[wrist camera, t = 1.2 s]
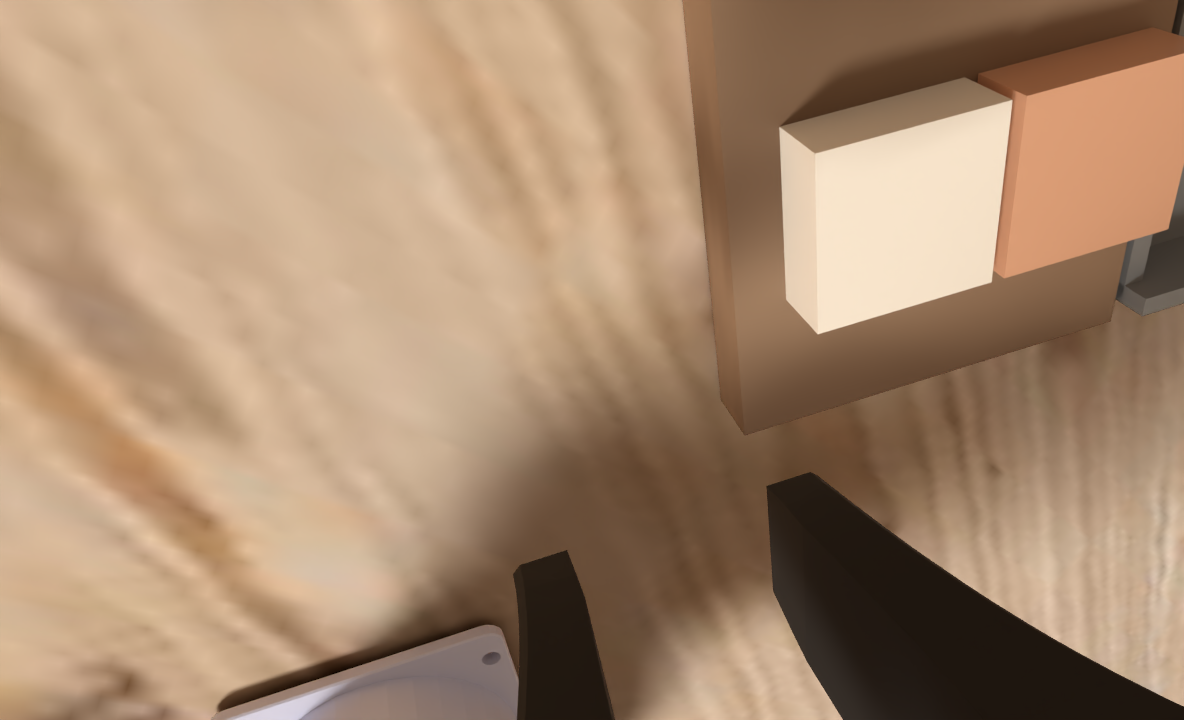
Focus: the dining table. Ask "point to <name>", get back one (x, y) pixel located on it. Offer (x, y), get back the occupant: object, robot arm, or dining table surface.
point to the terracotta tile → (1089, 148)
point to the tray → (1157, 251)
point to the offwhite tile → (892, 201)
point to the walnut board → (836, 82)
